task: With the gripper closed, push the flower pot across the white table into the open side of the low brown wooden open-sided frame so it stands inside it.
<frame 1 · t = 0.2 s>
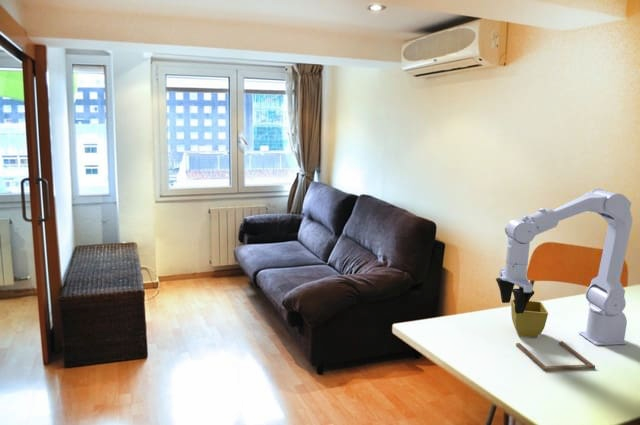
hand: (512, 307, 138), 10 cm above the table, tool pointing down, fingers open, 7 cm apart
brown wooden open-sided frame: (553, 356, 130), on the table
flower pot: (526, 334, 144), on the table
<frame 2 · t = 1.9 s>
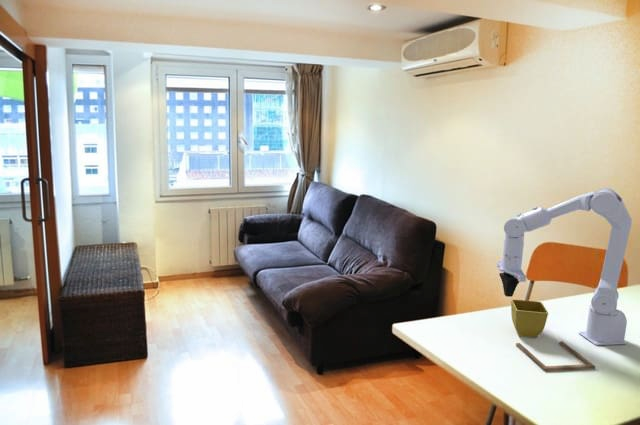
hand: (508, 295, 154), 7 cm above the table, tool pointing down, fingers closed
nothing on the table moved.
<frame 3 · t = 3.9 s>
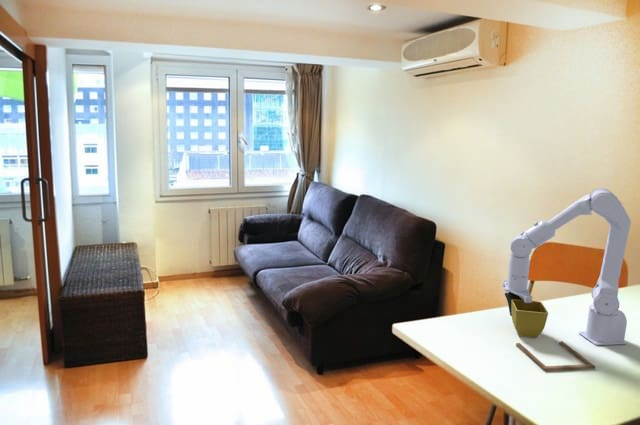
hand: (514, 316, 151), 2 cm above the table, tool pointing down, fingers closed
flower pot: (526, 334, 144), on the table, touching gripper
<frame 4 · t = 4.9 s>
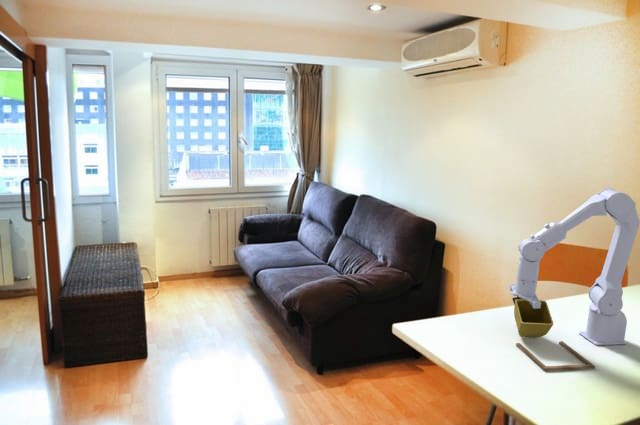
hand: (520, 321, 146), 3 cm above the table, tool pointing down, fingers closed, pressing on flower pot
flower pot: (527, 331, 143), point 1 cm above the table, touching gripper
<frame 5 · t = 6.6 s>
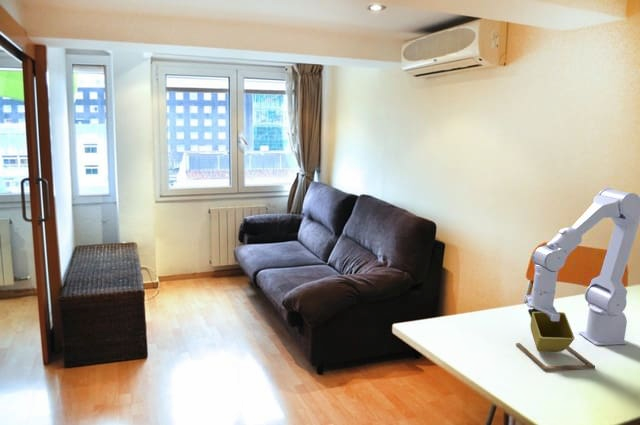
hand: (537, 334, 137), 3 cm above the table, tool pointing down, fingers closed, pressing on flower pot
flower pot: (544, 345, 134), point 1 cm above the table, touching gripper
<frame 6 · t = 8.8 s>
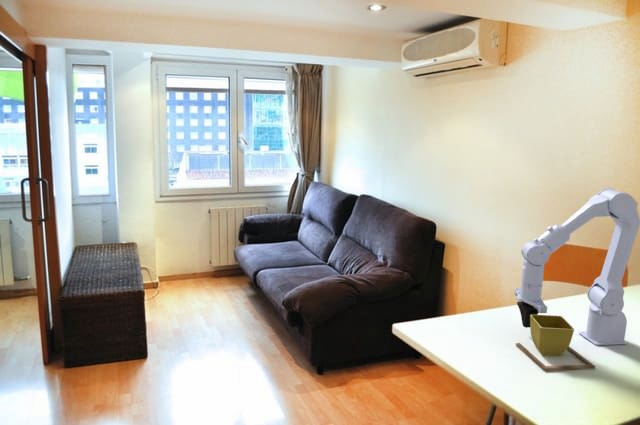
hand: (527, 326, 144), 2 cm above the table, tool pointing down, fingers closed
flower pot: (547, 352, 133), on the table
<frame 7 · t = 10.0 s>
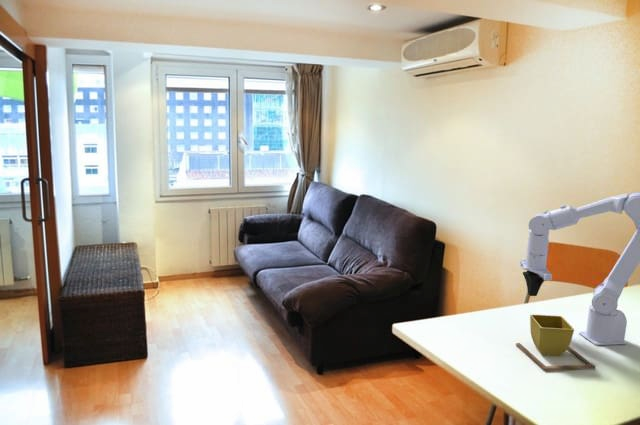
hand: (532, 295, 150), 9 cm above the table, tool pointing down, fingers closed
nothing on the table moved.
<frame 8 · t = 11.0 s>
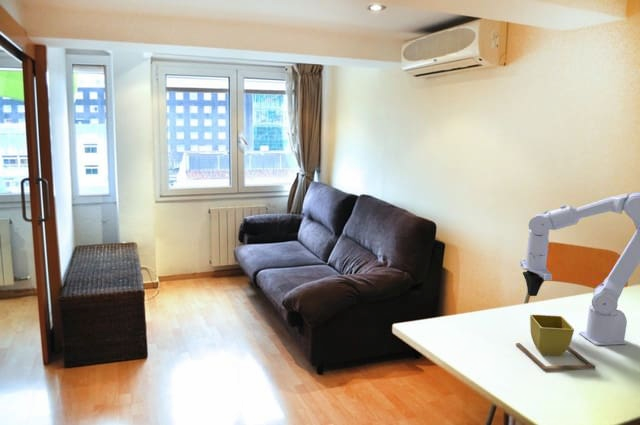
hand: (532, 295, 150), 9 cm above the table, tool pointing down, fingers closed
nothing on the table moved.
at the end: flower pot 2.2 cm off-centre on the brown wooden open-sided frame, point 0.0 cm above the brown wooden open-sided frame's base; flower pot tilted 0° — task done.
